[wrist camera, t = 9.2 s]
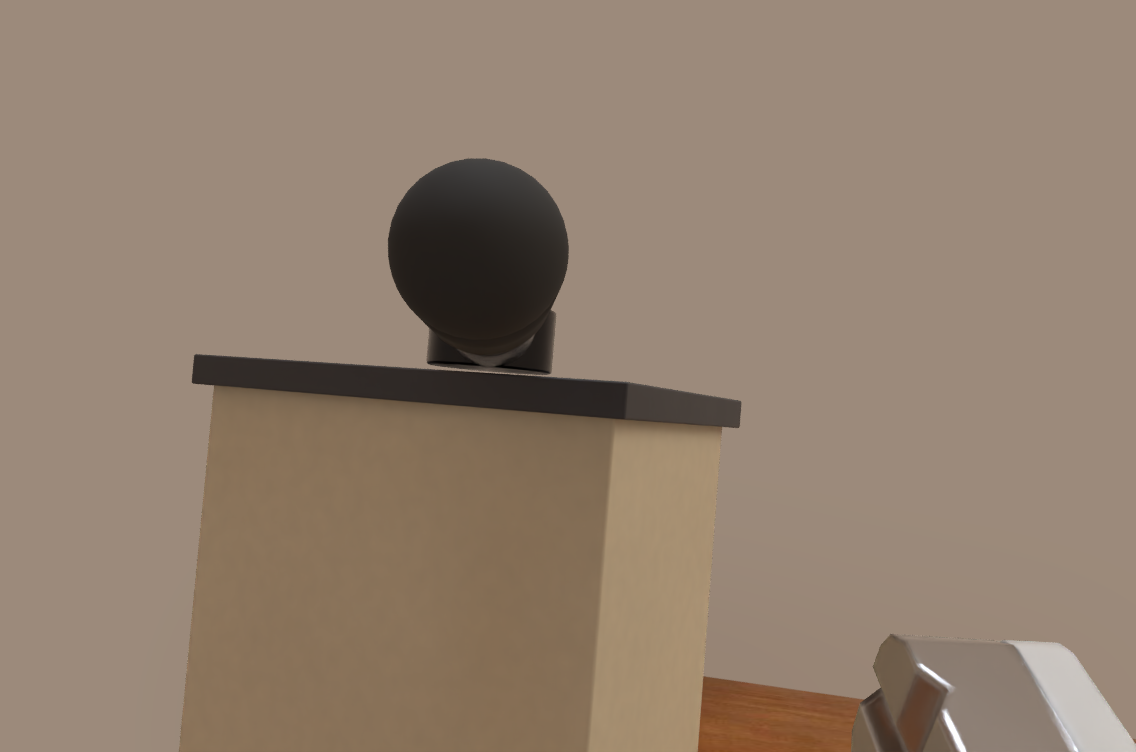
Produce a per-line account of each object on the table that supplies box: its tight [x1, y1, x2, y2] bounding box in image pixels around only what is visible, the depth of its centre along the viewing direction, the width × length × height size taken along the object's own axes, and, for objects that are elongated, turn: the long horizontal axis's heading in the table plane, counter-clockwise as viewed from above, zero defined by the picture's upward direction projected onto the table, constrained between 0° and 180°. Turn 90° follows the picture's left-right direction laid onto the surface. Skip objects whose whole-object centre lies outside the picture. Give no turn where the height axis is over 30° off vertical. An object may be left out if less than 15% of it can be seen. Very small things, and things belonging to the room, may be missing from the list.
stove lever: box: [388, 159, 568, 375], centre depth 20 cm, size 17×4×3 cm, turn 4°
